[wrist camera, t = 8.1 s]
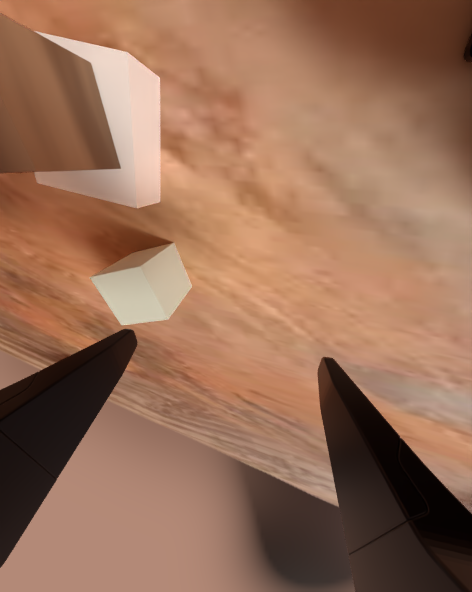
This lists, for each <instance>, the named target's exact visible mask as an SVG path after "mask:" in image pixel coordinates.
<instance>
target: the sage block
mask: <svg viewBox="0 0 472 592" xmlns="http://www.w3.org/2000/svg"><path fill="white" fill-rule="evenodd" d="M90 279H91V280H92V282H93V283H94V285H95V286H96V288H97V289H98V291H99V292H100V294H101V295H102V297H103V298H104V300H105V301H106V303H107V304H108V306H109V307H110V309H111V310H112V312H113V313H114V315H115V316H116V318H117V319H118V321H119V322H120V324H121V325H129V324H137V323H145V322H153V321H161V320H168V319H169V318H170V316H171V315H172V314H173V312H174V311H175V309H176V308H177V307H178V305H179V304H180V303H181V301H182V300H183V298H184V297H185V296H186V294H187V293H188V292H189V290H190V289H191V287H192V285H191V283H190V280H189V278H188V275H187V273H186V270H185V268H184V266H183V263H182V261H181V258H180V256H179V253H178V251H177V249H176V246H175V244H174V243H170V244H166V245H162V246H158V247H154V248H150V249H146V250H142V251H137V252H133V253H131V254H130V255H128V256H126V257H124V258H123V259H121V260H119V261H117V262H116V263H114V264H112V265H110V266H109V267H107V268H105V269H103V270H102V271H100V272H98V273H96V274H95V275H93V276H91V277H90Z"/></svg>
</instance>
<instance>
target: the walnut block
mask: <svg viewBox="0 0 472 592" xmlns="http://www.w3.org/2000/svg"><path fill="white" fill-rule="evenodd" d="M103 169H121V167H120V163H119V160H118V156H117V153H116V149H115V146H114V142H113V139H112V135H111V131H110V128H109V124H108V121H107V117H106V114H105V110H104V107H103V103H102V100H101V96H100V93H99V89H98V86H97V82H96V79H95V75H94V72H93V68H92V64H91V63H90V62H89V61H87V60H85V59H83V58H81V57H80V56H78V55H76V54H74V53H72V52H71V51H69V50H67V49H65V48H63V47H61V46H60V45H58V44H56V43H54V42H52V41H51V40H49V39H47V38H45V37H43V36H41V35H40V34H38V33H36V32H34V31H32V30H31V29H29V28H27V27H25V26H23V25H21V24H20V23H18V22H16V21H14V20H12V19H11V18H9V17H7V16H5V15H3V14H2V13H0V173H22V172H52V171H78V170H103Z"/></svg>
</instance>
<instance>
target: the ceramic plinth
mask: <svg viewBox="0 0 472 592" xmlns="http://www.w3.org/2000/svg"><path fill="white" fill-rule="evenodd" d="M34 32H36V31H34ZM36 33H38V34H40V35H41V36H43V37H45V38H47V39H49V40H51V41H52V42H54V43H56V44H58V45H60V46H61V47H63V48H65V49H67V50H69V51H71V52H72V53H74V54H76V55H78V56H80V57H81V58H83V59H85V60H87V61H89V62H90V63H91V64H92V68H93V72H94V75H95V79H96V82H97V86H98V89H99V93H100V96H101V100H102V103H103V107H104V110H105V114H106V117H107V121H108V124H109V128H110V131H111V135H112V139H113V142H114V146H115V149H116V153H117V156H118V160H119V163H120V167H121V169H103V170H78V171H52V172H34V174H35V178H36V181H37V183H38V184H42V185H46V186H50V187H54V188H58V189H62V190H66V191H70V192H74V193H78V194H82V195H86V196H90V197H94V198H98V199H102V200H106V201H110V202H114V203H117V204H121V205H125V206H129V207H133V208H140V207H144V206H148V205H151V204H155V203H158V202H160V78H159V77H158V76H157V75H156V74H154V73H153V72H152V71H151V70H149V69H148V68H147V67H145V66H144V65H143V64H142V63H140V62H139V61H138V60H137V59H135V58H134V57H133V56H132V55H130V54H129V53H128V52H124V51H120V50H115V49H111V48H107V47H102V46H98V45H93V44H89V43H85V42H80V41H76V40H71V39H67V38H63V37H58V36H54V35H49V34H45V33H41V32H36Z"/></svg>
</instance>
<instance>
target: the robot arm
mask: <svg viewBox="0 0 472 592" xmlns="http://www.w3.org/2000/svg"><path fill="white" fill-rule="evenodd" d="M464 59H465V60H466V61H467V62H472V34H471V36H470V39H469V41H468V44H467V46H466V49H465V53H464ZM136 347H137V339H136V336H135V333H134V331H133V330H131V329H123V330H121V331H119V332H117V333H115V334H113V335H111V336H109V337H107V338H105V339H103V340H101V341H99V342H97V343H95V344H93V345H91V346H89V347H87V348H85V349H83V350H81V351H79V352H77V353H75V354H73V355H71V356H69V357H67V358H65V359H63V360H61V361H59V362H57V363H55V364H53V365H51V366H49V367H47V368H45V369H43V370H41V371H40V372H37V373H35V374H33V375H31V376H29V377H27V378H25V379H22V380H21V381H18V382H16V383H14V384H12V385H10V386H8V387H6V388H3V389H1V390H0V568H1V566H2V565H3V564H4V562H5V561H6V560H7V558H8V556H9V555H10V553H11V552H12V550H13V549H14V547H15V545H16V543H17V542H18V541H19V539H20V537H21V536H22V534H23V533H24V531H25V529H26V528H27V526H28V524H29V523H30V521H31V520H32V518H33V517H34V515H35V513H36V512H37V510H38V509H39V507H40V505H41V504H42V502H43V501H44V499H45V498H46V496H47V494H48V493H49V491H50V490H51V488H52V486H53V485H54V483H55V482H56V480H57V478H58V477H59V475H60V473H61V472H62V470H63V469H64V467H65V465H66V464H67V462H68V461H69V459H70V458H71V456H72V454H73V452H74V451H75V449H76V448H77V446H78V445H79V443H80V441H81V440H82V438H83V437H84V435H85V434H86V432H87V430H88V429H89V427H90V426H91V424H92V422H93V421H94V419H95V418H96V416H97V414H98V413H99V411H100V410H101V408H102V407H103V405H104V403H105V402H106V400H107V399H108V397H109V395H110V394H111V392H112V391H113V389H114V387H115V386H116V384H117V383H118V381H119V379H120V378H121V376H122V374H123V373H124V371H125V369H126V367H127V365H128V363H129V361H130V359H131V357H132V355H133V353H134V351H135V349H136ZM318 385H319V398H320V409H321V415H322V420H323V425H324V430H325V436H326V441H327V446H328V451H329V456H330V462H331V467H332V472H333V477H334V482H335V488H336V493H337V498H338V503H339V508H340V514H341V519H342V524H343V529H344V534H345V540H346V544H347V550H348V553H349V561H350V566H351V571H352V577H353V581H354V587H355V592H472V514H471V513H470V512H469V511H468V510H467V508H466V507H465V506H464V505H463V504H462V503H461V502H460V501H459V500H458V499H457V498H456V497H455V496H454V495H453V494H452V493H451V492H450V491H449V490H448V489H447V488H446V487H445V486H444V485H443V484H442V483H441V481H440V480H439V479H438V478H437V477H436V476H435V475H434V474H433V473H432V472H431V471H430V470H429V469H428V468H427V467H426V465H425V464H424V463H423V462H422V461H421V460H420V459H419V458H418V456H417V455H416V454H415V453H414V452H413V451H412V450H411V448H410V447H409V446H408V445H407V444H406V443H405V441H404V440H403V439H402V438H400V436H399V435H398V433H397V432H396V431H395V430H394V429H393V428H392V426H391V425H390V424H389V423H388V422H387V421H386V419H385V418H384V417H383V416H382V415H381V414H380V412H379V411H378V410H377V409H376V408H375V407H374V405H373V404H372V403H371V402H370V401H369V400H368V398H367V397H366V396H365V395H364V394H363V393H362V391H361V390H360V389H359V388H358V387H357V386H356V384H355V383H354V382H353V381H352V380H351V379H350V377H349V376H348V375H347V374H346V373H345V372H344V370H343V369H342V368H341V367H340V366H339V365H338V363H337V362H336V361H335V360H334V359H333V358H329V357H323V358H322V359H321V362H320V365H319V368H318Z"/></svg>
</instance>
